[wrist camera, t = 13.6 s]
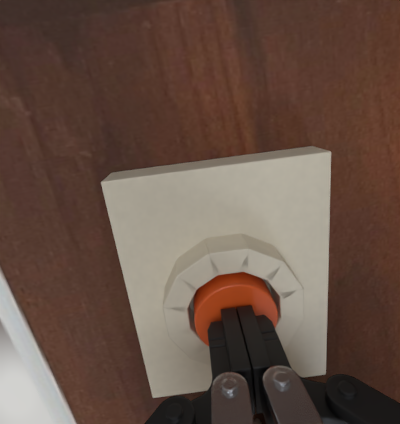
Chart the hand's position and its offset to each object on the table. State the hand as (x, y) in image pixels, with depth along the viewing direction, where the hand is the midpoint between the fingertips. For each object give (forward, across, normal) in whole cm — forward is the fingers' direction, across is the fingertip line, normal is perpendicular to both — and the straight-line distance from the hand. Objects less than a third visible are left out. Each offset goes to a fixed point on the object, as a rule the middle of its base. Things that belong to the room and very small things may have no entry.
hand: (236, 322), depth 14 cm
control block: (+5, 0, 0) cm, 5 cm away
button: (+2, 0, 0) cm, 2 cm away
